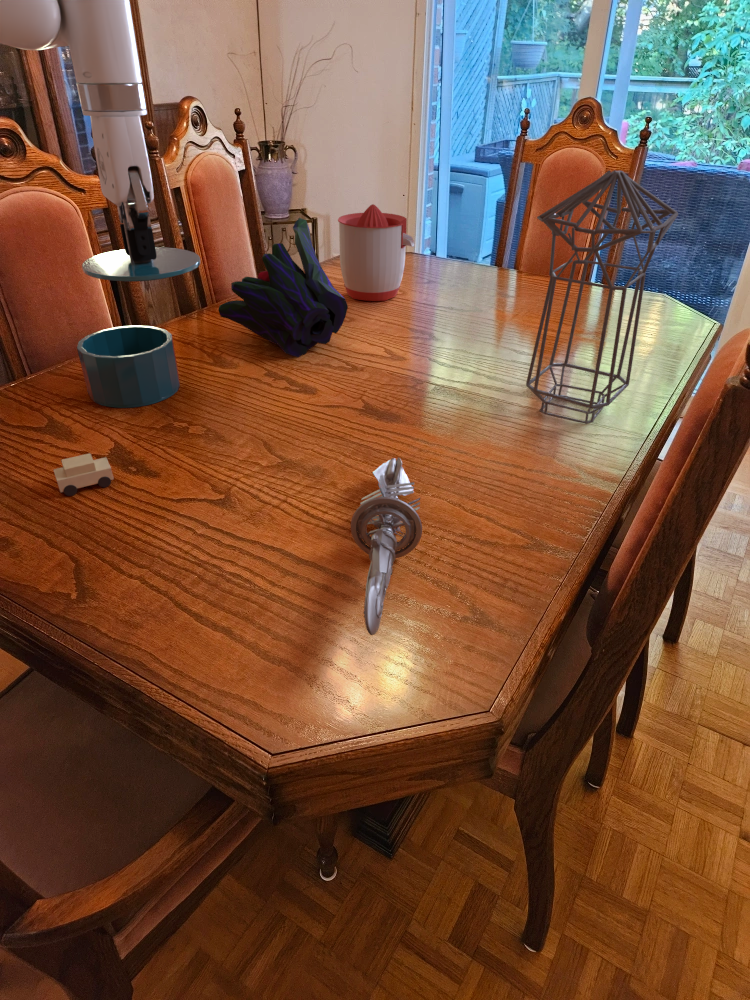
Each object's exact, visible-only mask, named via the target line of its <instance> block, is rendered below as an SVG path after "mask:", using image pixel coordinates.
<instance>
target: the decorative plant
mask: <svg viewBox="0 0 750 1000" xmlns="http://www.w3.org/2000/svg"><path fill="white" fill-rule="evenodd" d="M292 230H293V232H294V245H295V247H296V249H297V252H298V255H299V258H300V262H301V266H302V268H303V269H302V268H301V267H300V266H299V265H298V264H297V263H296V261H294V260H293V258H292V257H291V254H290V253H289V252H288V250H287V248H286V247H285V245H284V243H283V242H281V243H280V242H279V243H273V244H272V246H271V253H269V252H268V253H263V255H262V256H261V260H262V262H263V265H264V267H265V269H266V270H265V271H260V272H259V273H258V275H257V277H254V276H244V277H242V279H241V280H239V281H238V280H237V281H233V282H231V283H230V285H231V286H230V287H231V288H230V289H231V291H232V293H234V294H235V295H237V297H239V298H240V299H242V300H239V299H235V300H229V301H226V302H224V303H222V304H220V305H219V306H218V313H219V316H220V318H224V319H227V320H230V321H232V322H235V323H236V324H238V325H241V326H243V327H244V328H246V329H247V330H249V331H251V332H252V333H253V334H255V335H257V336H259V337H261V338H263V339H265V340H266V341H268V342H270V343H273V344H275V345H277V346H278V347H279V348H280V349H281V350H282V351H283V353H284V354H287V355H290V356H293V357H296V358H300V357H301V356H303V355H306V354H307V353H308V351H309V350H311V349H312V348H313V347H315V346H316V345H317V344H323V345H327V344H328V343H330V342H331V340H332V336H333V333H334V335H335V334H337V333H338V332H339V330H340V329H341V328H342V326H343V324H344V321H345V319H346V316H347V313H348V309H349V305H348V302H347V300H346V298H345V297H344V295H342V294H341V293H340V292H339V291H338V290H337V289H336V288H335V287H334V285H333V284H332V282H331V280H330V278H329V277H328V275H327V273H326V272H325V270H324V269H323V267H322V265H321V263H320V262H319V259H318V257H317V255H316V252H315V248H314V247H313V243H312V239H311V230H310V227H309V224H308V222H307V220H306V219H304V218H303V217H298V219H297V220H295V222H294V224H293V225H292Z"/></svg>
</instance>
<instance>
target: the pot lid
mask: <svg viewBox="0 0 750 1000" xmlns="http://www.w3.org/2000/svg"><path fill="white" fill-rule="evenodd" d="M122 224H124V229H125V234H126V239H127V244H128V250H129V255H127V254H126V253H125V248H123V249H119V250H112V251H107V252H103V253H99V254H97V255H94V256H91V257H89V258H87V259H86V260H84V261H83V263H82V264H81V269H82V271H83V273H84V274H85V275H86V276H88V277H91V278H94V279H99V280H105V281H112V282H113V281H115V282H116V281H117V282H127V283H129V282H131V283H133V282H137V283H138V282H150V281H151V282H152V281H159V280H165V279H169V278H173V277H176V276H181V275H184V274H187V273H190V272H192V271H194V270H196V269H197V268H199V267H200V265H201V257H200V255H199V254H197V253H196V252H193V251H190V250H187V249H182V248H175V247H163V246H162V247H158V246H155V249H156V255H157V258H156V259H154V260H145V261H137V262H135V261H133V260H132V257H131V251H130V246H129V241H128V236H127V230H128V229H129V227H128V223H127V218H126V217H125V218H123V223H122Z"/></svg>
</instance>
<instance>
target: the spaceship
mask: <svg viewBox="0 0 750 1000" xmlns="http://www.w3.org/2000/svg"><path fill="white" fill-rule="evenodd" d="M372 475H373V476H374V478H375V479H376V481H377V482H378V483H377V485H378V488H379V489H377V490H374V491H373V492H371V493H369V494H367V495H365V496H363V497H362V498H361V502H360V505H359V506H358V507H357V508H356V510H355V511H354V513H353V515H352V517H351V521H350V533H351V536H352V539H353V541H354V542H355V544H356V545H357V547H358V548H359V549H360V550H362V551H363V553H365V554H366V555H368V559H369V561H370V565H369V568H368V573H367V577H366V583H365V593H364V594H365V596H364V606H363V607H364V608H363V618H364V625H365V629H366V632H367V633H368V634H369V635H370V636H374V635H376V634H377V632H378V631H379V629H380V625H381V622H382V621H381V620H382V616H383V611H384V602H385V598H386V594H387V589H388V587H389V584H390V582H391V576H392V575H393V567H394V563H395V560H396V559H399V558H403V557H405V556H406V555H408V554H410V553H411V552H412V551H414V550H415V548H416V547H417V546H418V545H419V543H420V541H421V538H422V535H423V524H422V520H421V518H420V516H419V514H418V512H417V511H418V510H420V509H421V507H420V506H419V505H421V502H420V500H421V497H419V498H415V499H414V500H412V501H410V502H405V501H403V500H401V499H399V497H398V496H403V497H405V496H408V495H412V494H414V493H415V491H414V489H415V486H414V485H415V481H411V482H410V479H409V477H408V474H406V472H405V469H404V467H403V461H402V459H401V458H400V457H397V458H395V457H392V458H391V459H388V460H387V461H385V462H383V463H382V464H381V465H379V466H378V467H377V468H376V469H375V470H373V471H372ZM412 485H413V486H412ZM416 502H417V503H416ZM368 525H373V526H374V527H375V528H376V529H374V530H373V529H372V530H370V531H368V529H367V528H368ZM402 527H404V530H405V532H403V531H402V530H401V528H402ZM400 533H401V534H400ZM396 535H398V536H400V537H402V538H401V539H400V541H398V540H397V536H396Z"/></svg>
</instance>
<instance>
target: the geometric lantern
mask: <svg viewBox="0 0 750 1000" xmlns="http://www.w3.org/2000/svg"><path fill="white" fill-rule="evenodd" d="M616 184H617V187H616ZM615 187H616V188H617V189H616V190H617V191H616V208H614V207H611V206H609V204H610V200H611V198H612V195H613V192H614V189H615ZM608 188H609V189H608ZM607 189H608V191H607ZM606 191H607V195H606V197H605V199H604V203H603V204H600V203H597V202H598V201H599V200H600V199H601V197H602V196H603V195H604V193H605V192H606ZM641 193H642V194H643V195H645V196H646V197H647V198H649V199H651V200H652V201H653V202H654V203H656V204H657V205H659V206H660V207H661V208H662V209H652V208H651V206H650V205H649V204H648V202H647V201H646V200H645V198H644V197H643V195H642V194H641ZM595 195H596V196H595ZM622 195H623V197H624V199H625V202H626V204H627V207H625V206H624V207H622ZM594 196H595V197H594ZM593 197H594V199H593V200H592V201H589V200H590V199H591V198H593ZM581 204H582V205H583V206H584V207H585V208H586V209H585V211H584V212H583V213H582V215H580V217H579V218H578V220H577V221H576V222H575V221H572V217H573V214H574V211H575V209H576V208H577V207H579V206H580V205H581ZM596 209H600V210H601V212H600V213H599V211H597V210H596ZM590 212H591V213H592V214H593V215H594V216H595V217H596V218H598V220H597V223H596V226H595V228H594V229H591V228H586V227H581V224H582V223H583V222H584V220H585V219H586V217H587V216H588V215H589V213H590ZM606 212H611V213H614V214H616V215H615V217H614V220H613V223H612V224H611V222H609V221H608V220H607V219H606V218H605V215H606ZM621 212H624V213H630V215H631V218H632V220H633V222H632V225H631V228H626V229H625V228H617V227H616V224H617V222H618V219H619V216H620V214H621ZM649 215H650V217H651V219H650V217H649ZM657 215H658V216H657ZM669 215H670V216H669ZM565 216H567V218H566V219H565ZM667 216H669V217H668V218H667V219H666V220H665V221H664V222H662V221H661V220H662V219H663V218H664V219H665V218H666V217H667ZM678 216H679V213H678V211H677V210H675V209H674V208H672V207H671V206H670V205H668V204H667V203H666V202H664V201H663V200H661V199H660V198H658V197H657V196H656V195H654V194H653V193H652V192H650V191H648V189H646V188H645V187H643V186H642V185H640V184H639V183H637V182H636V181H635V180H633V179H632V178H631V177H629V176H628V175H627V174H626V173H625V171H623V170H617V169H615V170H612V171H611V170H607V171H606V172H605V173H604V174H603V175H601V176H599V178H597V179H596V180H594V181H593V182H591V183H589V184H587V185H586V186H584V187H583V188H581V189H580V190H578V191H577V192H575V193H573V194H572V195H570V196H569V197H566V199H564V200H562V201H560V202H559V203H557V204H556V205H554V206H552V207H550V208H549V209H548V210H546V211H545V212H543V213H541V214H539V215H538V216H537V217H536V219H537V220H539V221H540V222H541V223H544V224H545V226H546V227H547V228H548V229H549V230H550V231H551V235H552V237H551V247H550V260H549V273H548V275H549V282H548V286H547V289H546V290H547V291H546V295H545V300H544V303H543V307H542V312H541V317H540V321H539V325H538V329H537V334H536V339H535V342H534V347H533V351H532V355H531V360H530V365H529V368H528V374H527V378H526V383H525V386H526V387H527V388H528V389H529V390H530V391H531V393H532V394H533V395H535V397H537V398H538V399H539V400H540V401H541V406H540V409H539V412H540V413H542V414H543V415H546V416H551V417H554V418H557V419H558V418H559V419H564V420H568V421H571V422H576V423H580V424H584V425H588V424H592V423H594V422H595V420H596V419H597V417H598V416H599V414H600V413H601V411H602V410H603V409H604V408H605V407H609V406H610V405H611V403H613V402H614V400H616V399H617V398H618V397H619V396H620V395H621V394H622V392H624V391H625V390H626V389H627V387H629V385H630V380H631V374H632V368H633V361H634V354H635V347H636V341H637V336H638V328H639V322H640V315H641V309H642V301H643V296H644V289H645V282H646V276H647V275H646V272H647V270H648V267H649V265H650V262H651V260H652V258H653V255H654V253H655V251H656V249H657V247H658V246H659V245H660V243H661V241H662V240H663V238H664V237H665V235H666V233H667V232H668V230H669V229H670V228H671V226H672V225H673V224H674V222H675V220H676V219H677V217H678ZM640 217H643V219H644V221H645V223H643V224H641V222H640V220H639V218H640ZM559 218H560V219H559ZM602 223H603V224H604V225H605V226H606V227H607V228H606V229H605V228H604V229H603V228H601V226H602ZM556 224H557V225H556ZM654 224H656V225H654ZM558 225H559V227H558ZM563 226H564V227H563ZM569 227H571V233H570V232H568V231H569ZM646 228H649V230H645V229H646ZM657 231H659V232H658V236H657V238H656V240H655V237H656V232H657ZM576 232H579V233H583V234H589V235H591V247H584V246H583V247H581V246H580V247H578V246H577V245H576V244H575V243H576V242H575V239H576V238H575V236H576V235H575V233H576ZM597 234H601V235H602V234H603V235H602V237H601V238H600V239H599V240H598V241H597V243H596V244H595V242H596V241H595V239H596V235H597ZM609 234H611V235H612V234H613V235H620V234H621V235H623V236H621V237H618V238H615V239H614V240H611V241H609V242H606V243H604V244H603V242H604V241H605V239H606V238H607V237H608V235H609ZM641 234H648V235H649V236H648V241H647V248H646V252H645V254H644V255H643V257H642V254H641V251H640V248H639V244H638V241H637V237H636V236H639V235H641ZM557 237H561V238H562V239H563V240H564V241H565V243H567V244H568V245H569V247H571V251H573V254H572V255H571V257H570V258H569V259H568V260H567V262H565V263H563V264H561V265H560V266H558V267H556V268H554V263H555V262H554V261H555V250H556V238H557ZM632 238H633V242H634V245H635V249H636V253H637V255H638V259H639V263H638V265H637V266H635V267H634V266H629V265H622V264H614V263H609V262H603V260H602V257H601V255H600V251H603V250H604V249H607V248H610V247H613V246H615V245H617V244H619V243H621V242H624V241H626V240H629V239H632ZM578 253H588V254H587V255H586V257H585V258H584V259H580V256H579V254H578ZM593 254H594V255H595V258H596V260H597V261H594V260H589V259H590V258H591V257H592V255H593ZM575 257H576V259H574V258H575ZM573 259H574V260H573ZM644 262H645V263H644ZM570 264H572V265H571V268H570V273H569V278H567V277H562V276H561V274H562V273H563V272H564V271H565V270H566V269H567V267H568V265H570ZM589 264H592V265H598V266H599V267H600V269H601V272H602V274H603V277H604V279H605V282H606V284H607V285H606V284H602V283H601V284H600V283H595V282H589V281H586V275H587V271H588V266H589ZM577 265H584V266H583V270H582V274H581V279H580V280H579V279H574V276H575V272H576V267H577ZM606 267H612V268H619V269H626V270H633V273H632V274H631V275H630V277H629V279H628V281H626V283H625V285H613V284H612V281H611V279H610V276H609V273H608V272H607V269H606ZM559 270H560V271H559ZM558 271H559V272H558ZM556 272H558V274H556ZM637 272H638V273H637ZM636 274H637V277H635V276H636ZM633 278H634V279H633ZM557 280H559V281H564V282H568V283H567V285H566V286H567V287H566V291H565V295H564V299H563V304H562V309H561V313H560V317H559V322H558V326H557V330H556V335H555V338H554V343H553V348H552V351H551V356H550V360H549V364H548V365H547V366H545V368H543V369H542V365H543V359H544V353H545V347H546V343H547V342H546V341H547V336H548V332H549V331H548V330H549V326H550V319H551V313H552V308H553V301H554V297H555V289H556V285H557ZM572 283H575V284H579V288H578V293H577V297H576V298H577V299H576V303H575V309H574V313H573V318H572V323H571V328H570V333H569V338H568V343H567V348H566V352H565V358H564V362H554V361H555V357H556V353H557V349H558V345H559V340H560V336H561V331H562V328H563V322H564V319H565V315H566V310H567V306H568V301H569V297H570V293H571V290H572V289H571V288H572ZM633 284H635V287H634V290H633V296H632V301H631V306H630V310H629V315H628V320H627V324H626V329H625V334H624V337H623V338H624V339H623V344H622V348H621V352H620V358H619V363H618V367H617V372H616V373H615V368H616V362H617V355H618V349H619V342H620V337H621V330H622V323H623V316H624V310H625V304H626V296H627V290H628V288H629V287H630V286H632V285H633ZM585 285H586V286H592V287H596V288H597V287H598V288H603V289H609V291H608V295H607V301H606V307H605V311H604V319H603V323H602V329H601V334H600V341H599V347H598V353H597V356H596V357H597V358H596V362H595V363H596V364H595V368H594V369H593V368H589V367H584V366H581V365H575V364H571V363H568V362H569V358H570V353H571V348H572V344H573V340H574V334H575V330H576V325H577V319H578V314H579V310H580V305H581V300H582V295H583V291H584V286H585ZM614 291H621V297H620V302H619V303H620V304H619V310H618V317H617V322H616V330H615V337H614V342H613V343H614V344H613V348H612V349H613V351H612V357H611V364H610V370H609V372H606V371H602V370H600V368H601V362H602V357H603V351H604V344H605V339H606V335H607V334H606V333H607V328H608V322H609V317H610V311H611V304H612V298H613V292H614ZM636 303H637V304H636ZM635 309H636V310H635ZM634 314H635V316H634ZM634 317H635V318H634ZM633 318H634V324H633V330H632V336H631V337H632V338H631V344H630V352H629V358H628V364H627V372H626V378H623V376H622V375H621V374H622V369H623V365H624V359H625V356H626V351H627V346H628V342H629V337H630V332H631V327H632V323H633ZM542 331H543V333H542ZM541 336H542V338H541ZM540 341H541V344H540ZM539 345H540V350H539V356H538V362H537V368H536V372H535V373H536V374H535V376H534V377H532V376H533V370H534V367H535V362H536V357H537V353H538V349H539ZM554 367H555V368H556V367H561V375H560V381H559V383H558V382H557V378H556V375H555V372H554V370H553V368H554ZM565 368H571V369H574V370H579V371H582V372H588V373H593V374H594V375H593V381H592V387H591V389H590V388H585V387H580V386H575V385H574V386H573V385H569V384H563V382H564V376H565V375H564V374H565ZM547 371H549V372H550V374H551V377H552V380H553V383H554V385H553V386H552V388H550V390H549V391H545V390H541V389H539V388H538V387H539V382H540V377H542V376H543V375H544V374H545V373H547ZM599 375H601V376H606V377H608V383H607V385H606V386H605V387H604V388H603V389H602V390H601V391H600V390H597V384H598V378H599ZM617 379H618V380H619V381H620V382H621V383H622V384H621V385H619V386H618V387H615V388H614V389H612V387H613V383H614V382H615V381H616V380H617ZM533 383H534V385H532V384H533ZM557 387H559V390H558V394H556V393H557V392H556V391H557ZM563 387H564V388H567V389H574V390H577V391H584V392H589V393H590V398H589V400H588V399H582V398H577V397H573V396H569V395H565V394H562V389H563ZM605 392H606V393H605ZM613 393H615V394H613ZM596 394H598V396H597V401H595V397H596V396H595V395H596ZM612 394H613V395H612ZM611 395H612V396H611ZM543 396H544V397H543ZM548 398H549V399H548ZM554 399H557V400H560V401H563V402H567V403H571V404H574V405H577V406H579V407H580V406H581V407H584V408H588V409H587V410H584V409H581V408H575V407H571V406H567V405H563V404H559V403H555V402H552V400H554ZM549 406H554V407H558V408H563V409H566V410H569V411H574V412H578V413H583V414H585V418H584V420H581V419H577V418H572V417H568V416H565V415H560V414H556V413H551V412H548V407H549ZM589 415H591V417H590V420H589Z"/></svg>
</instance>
